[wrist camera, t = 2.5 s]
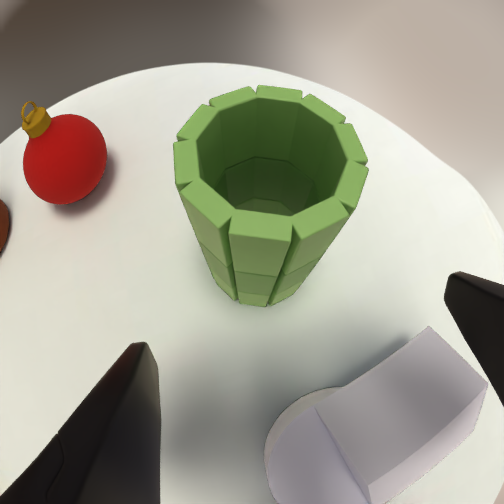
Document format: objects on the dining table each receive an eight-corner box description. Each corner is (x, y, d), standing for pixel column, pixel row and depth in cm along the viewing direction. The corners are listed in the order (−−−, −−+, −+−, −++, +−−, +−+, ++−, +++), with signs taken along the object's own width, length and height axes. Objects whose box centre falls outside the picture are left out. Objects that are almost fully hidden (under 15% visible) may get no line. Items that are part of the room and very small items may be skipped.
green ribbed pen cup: (323, 277, 20) (403, 187, 9) (237, 323, 19) (223, 280, 8) (277, 201, 22) (301, 70, 11) (195, 241, 21) (147, 123, 10)
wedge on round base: (404, 331, 19) (239, 428, 17) (460, 317, 13) (236, 462, 11) (447, 425, 17) (300, 521, 15) (504, 437, 10) (318, 572, 8)
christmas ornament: (65, 151, 24) (16, 80, 14) (128, 146, 24) (87, 59, 14) (41, 218, 22) (-29, 156, 12) (106, 220, 22) (39, 142, 12)
